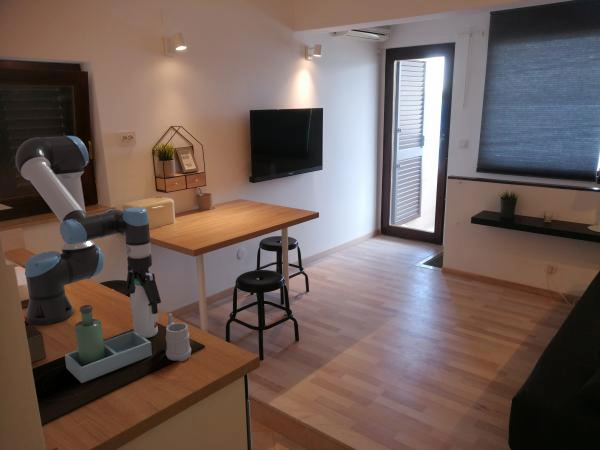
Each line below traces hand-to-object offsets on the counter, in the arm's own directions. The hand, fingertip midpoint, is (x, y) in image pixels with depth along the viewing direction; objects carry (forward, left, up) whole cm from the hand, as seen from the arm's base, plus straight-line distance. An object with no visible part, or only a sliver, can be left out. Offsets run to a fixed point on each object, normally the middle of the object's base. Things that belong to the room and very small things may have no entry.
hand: (144, 316), depth 161 cm
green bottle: (+10, -22, -6) cm, 25 cm away
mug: (+19, 0, -7) cm, 20 cm away
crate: (+10, -17, -6) cm, 21 cm away
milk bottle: (0, 0, -7) cm, 7 cm away
